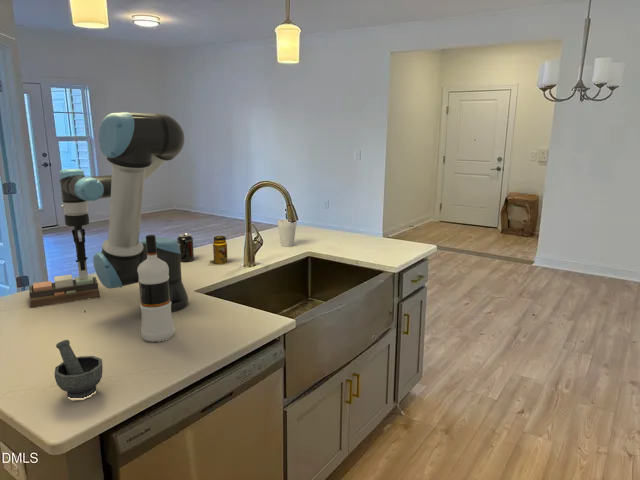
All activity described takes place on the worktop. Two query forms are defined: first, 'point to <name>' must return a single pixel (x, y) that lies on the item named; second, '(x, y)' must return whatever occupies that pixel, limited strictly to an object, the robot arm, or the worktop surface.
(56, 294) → the keypad
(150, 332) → the vodka
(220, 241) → the condiment
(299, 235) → the worktop surface
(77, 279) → the sage key
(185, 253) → the beverage can
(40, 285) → the terracotta key
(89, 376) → the mortar and pestle
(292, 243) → the foam cup
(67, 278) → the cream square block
